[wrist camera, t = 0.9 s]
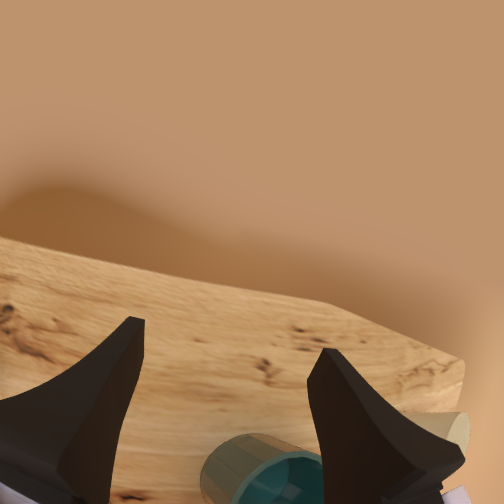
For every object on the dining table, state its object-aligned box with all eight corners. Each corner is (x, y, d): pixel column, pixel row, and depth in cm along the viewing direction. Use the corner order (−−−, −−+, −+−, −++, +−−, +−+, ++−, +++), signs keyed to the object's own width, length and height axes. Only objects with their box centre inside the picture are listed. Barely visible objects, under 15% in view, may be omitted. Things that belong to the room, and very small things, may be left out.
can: (380, 407, 34) (456, 408, 24) (411, 412, 36) (477, 412, 26) (363, 468, 29) (437, 483, 19) (397, 465, 32) (462, 473, 22)
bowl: (216, 526, 20) (247, 560, 14) (186, 452, 22) (214, 481, 16) (297, 490, 25) (339, 510, 19) (279, 419, 27) (324, 431, 21)
